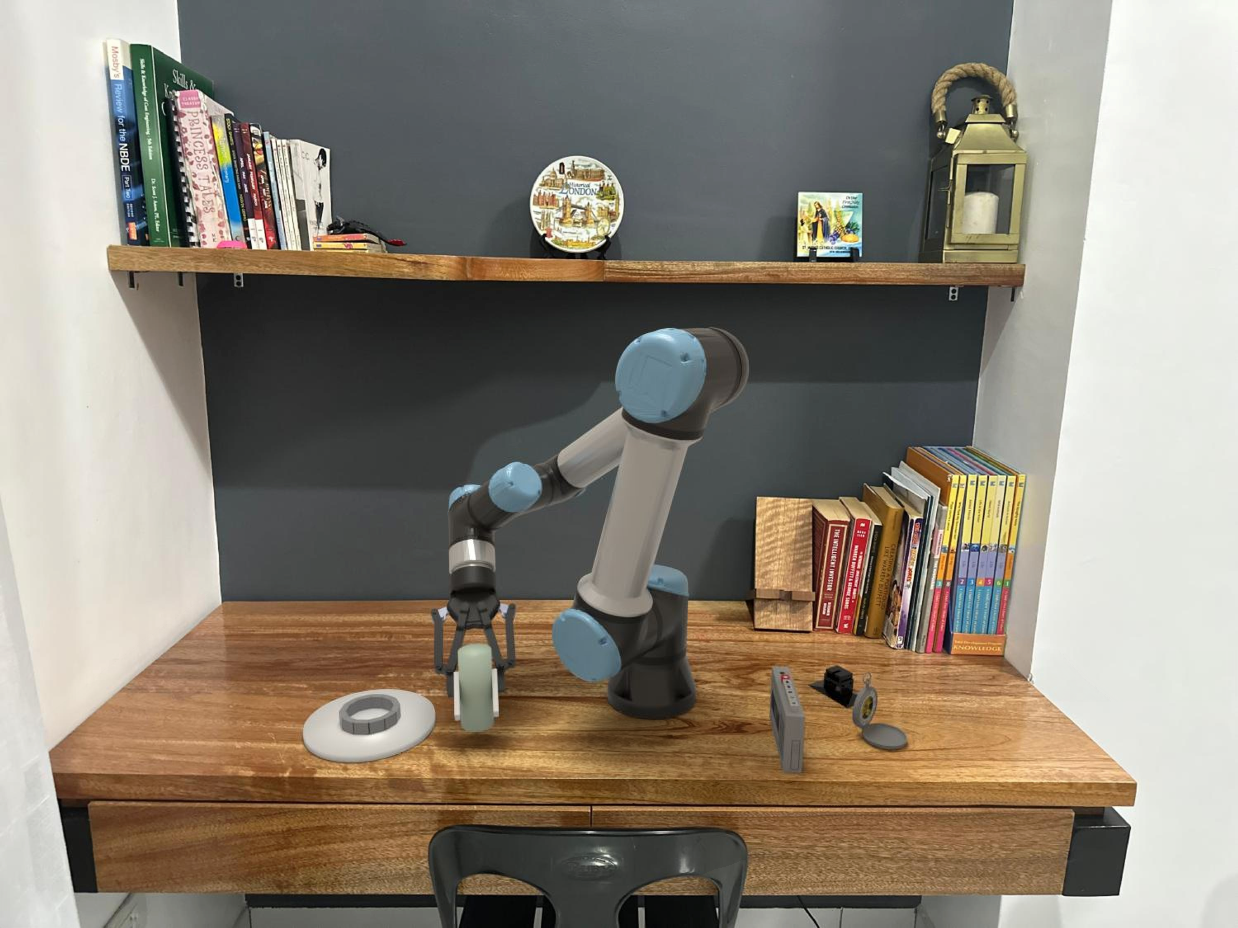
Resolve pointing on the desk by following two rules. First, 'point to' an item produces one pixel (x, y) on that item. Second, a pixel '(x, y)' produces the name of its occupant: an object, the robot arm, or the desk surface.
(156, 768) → the desk surface
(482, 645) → the sage green cylinder
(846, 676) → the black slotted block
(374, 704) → the carrier plate
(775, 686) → the cassette player
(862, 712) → the pocket watch
